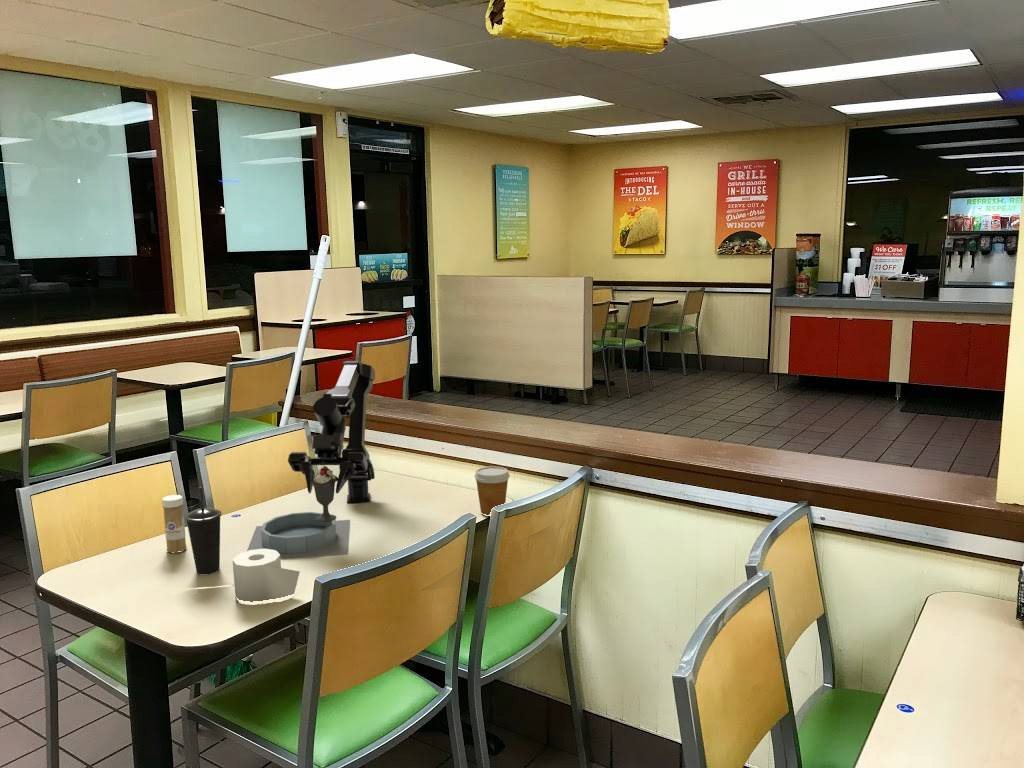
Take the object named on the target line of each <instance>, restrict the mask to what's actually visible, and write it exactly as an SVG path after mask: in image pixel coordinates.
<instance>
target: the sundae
mask: <svg viewBox="0 0 1024 768" xmlns="http://www.w3.org/2000/svg"><path fill="white" fill-rule="evenodd" d="M338 477H339V476H338ZM338 477H337V476H336V475H335V474H333V470H331V469H330V468H328V465H324V462H323V465H321V468H320V469H319V470H318V472H317V474H316V475H314V477H313V478H312V479H311V480H310V482H312V483H313V489H314V494H315V498H316V502H318V504H319V505H321V506H322V513H323V514H322V515H321V516H318V517H317V518H316V520H317V521H319V522H329V521H333V520H335V519H336V520H337V516H336V515H334V514H330V511H329V505H330V504H331V503H333V501H334V496H335V490H336V483H337V481H338Z"/></svg>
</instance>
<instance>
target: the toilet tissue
mask: <svg viewBox="0 0 1024 768" xmlns="http://www.w3.org/2000/svg"><path fill="white" fill-rule="evenodd" d="M281 562H282V561H281V560H280V554H279V553H278V552H277V551H276V550H271V549H255V550H249V551H247V550H246V551H244V552H241V553H238V554H237V555H236V556H235V557H234V558H233V559H232V568H233V569H232V570H233V582H234V595H236V597H237V598H238V599H239V600H243V601H250V602H253V601H263V600H269V599H276V598H281V597H285V596H288V595H292V594H294V595H295V592H296V588H297V584H298V579H299V576H300V571H299V570H293V569H290V568H289V569H288V568H283V567H282V564H281ZM236 597H235V598H236Z"/></svg>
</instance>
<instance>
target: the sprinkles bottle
mask: <svg viewBox="0 0 1024 768" xmlns="http://www.w3.org/2000/svg"><path fill="white" fill-rule="evenodd" d="M161 499H162V500H161V504H162V508H163V518H164V532H165V534H164V535H165V539H166V552H167V551H168V552H167V553H169V552H178V551H182V550H185V549H186V548H187V541H186V527H185V515H184V507H183V506H184V499H183V496H182V495H180V494H171V495H167V496H164V497H162V498H161ZM187 549H188V548H187ZM187 549H186V550H187ZM186 550H185V551H186ZM182 552H183V551H182Z"/></svg>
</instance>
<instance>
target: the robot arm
mask: <svg viewBox="0 0 1024 768" xmlns="http://www.w3.org/2000/svg"><path fill="white" fill-rule="evenodd" d="M341 367H342V368H341V369H342V370H341V372H340V374H339V377H338V379H337V382H336V384H335V387H333V388H331V389H329V390H328V391H327V392H326V393H323V395H322V397H320V398H318V399H317V400H315V402H314V404H313V405H312V406H313V407H312V409H313V412H314V415H315V416H316V419H317V421H318V423H319V424H320V426H321V427H322V428H321V429H322V430H321V434H319V435H318V434H317V435H316V434H315V435H312V447H311V448H312V449H313V450H314V451H313V452H314V454H315V455H317V456H314V457H312V456H309V455H308V454H307V452H306V451H292V452H290V453H289V454H288V458H287V463H288V464H289V466H290V468H291V469H292V472H296V473H302V474H303V475H304V476H305V481H306V488H307V493H308V494H311V493H312V491H313V488H314V486H313V483H312V482H310V480H311V479H312V478H313V477H315V471H314V469H313V466H322V465H323V462H324V466H339V467H338V469H339V474H338V481H336V484H335V493H336V494H339V493H340V491H341V490H342V489H343V487H344V486H345V484H346V483H347V491H348V492H347V495H346V496H347V497H346V503H348V504H349V503H364V502H365V503H366V502H368V503H369V502H370V501H371V492H369V481H372V480H374V479H375V478H376V477H375V469H374V466H373V463H372V460H371V459H370V454H369V452H368V450H367V448H366V447H365V440H366V439H365V437H366V436H365V435H366V416H367V415H366V414H367V398H368V397H367V396H368V395H369V393H370V392H371V390H372V389H373V385H374V382H375V380H376V371H375V369H374V367H373V366H372V365H369V364H365V363H363V362H362V361H359V360H346V361H343V362H342V366H341ZM344 417H349V419H348V420H349V423H348V424H349V425H348V439H347V440H348V441H347V442H348V443H347V445H346V447H345V448H344V440H345V433H346V429H347V428H346V427H347V421H346V419H345V418H344Z"/></svg>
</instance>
